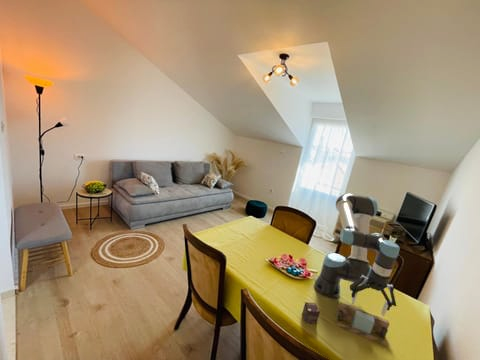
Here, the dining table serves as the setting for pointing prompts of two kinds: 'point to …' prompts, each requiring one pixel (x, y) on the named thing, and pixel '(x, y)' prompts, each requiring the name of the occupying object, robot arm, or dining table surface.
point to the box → (310, 312)
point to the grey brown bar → (348, 315)
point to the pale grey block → (363, 322)
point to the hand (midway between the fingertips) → (367, 308)
